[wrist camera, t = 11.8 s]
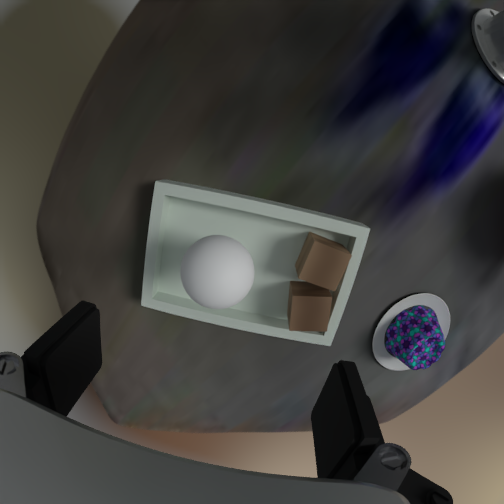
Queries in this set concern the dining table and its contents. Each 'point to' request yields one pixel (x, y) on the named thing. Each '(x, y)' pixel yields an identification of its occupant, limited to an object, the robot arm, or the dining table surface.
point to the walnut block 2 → (308, 307)
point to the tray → (258, 245)
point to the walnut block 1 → (322, 261)
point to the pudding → (412, 333)
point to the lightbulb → (217, 272)
